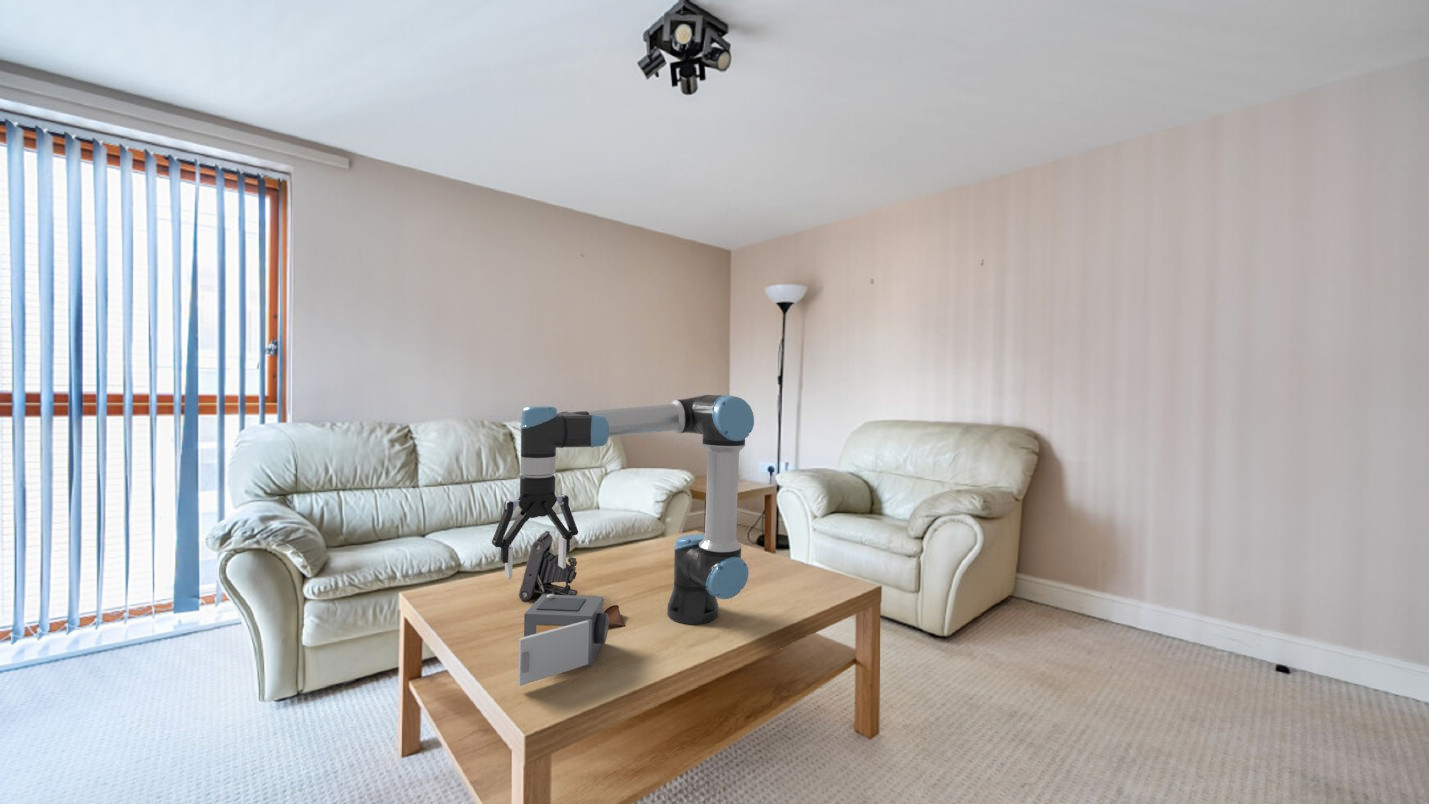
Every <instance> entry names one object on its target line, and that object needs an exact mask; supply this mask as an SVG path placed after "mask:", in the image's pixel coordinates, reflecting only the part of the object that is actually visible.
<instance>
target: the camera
mask: <svg viewBox="0 0 1429 804" xmlns="http://www.w3.org/2000/svg"><path fill="white" fill-rule="evenodd" d="M550 532H551V531H550V530H545V531H544V532H543V533H541V534H540V536H538V538H537V539H536V540H535V541H533V542H532V545H531V546H530V551H529V555H528V558H527V562H526V567H525V569H524V573H523V578H522V582H521V585H520V588H519V592H518V597H519V599H520V600H521V601H523V602H526V601H530V599H531V598H532V597H533V596H534V595H535V594H536V593H539V594H541V595H542V594H545V595H548V594H554V595H572V596H576V594H577V593H578V590H576V589H572V587H571V585H570V584H572V583H573V582H574V580H576V578H577V577H576V576H577V573H578V572H577V571H576V569H577V565H578V561H577V558H575V557H572V556H569V557H568V558H567V562H568V563H569V564H568V563H567V562H566V568H561V567H560V566H558V556H557V555H555V554H554V553H552V552H551V546H552V543H553V536H552V534H551V533H550ZM553 583H565V586H561V585H557V584H553Z"/></svg>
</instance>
